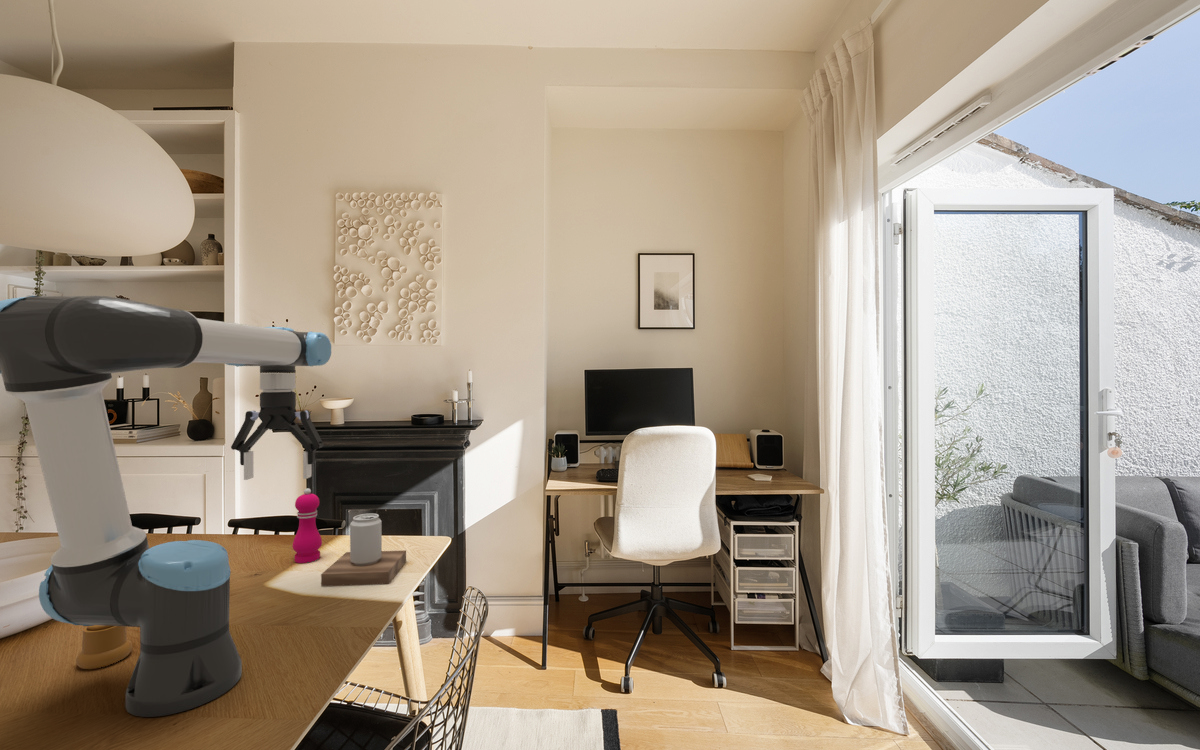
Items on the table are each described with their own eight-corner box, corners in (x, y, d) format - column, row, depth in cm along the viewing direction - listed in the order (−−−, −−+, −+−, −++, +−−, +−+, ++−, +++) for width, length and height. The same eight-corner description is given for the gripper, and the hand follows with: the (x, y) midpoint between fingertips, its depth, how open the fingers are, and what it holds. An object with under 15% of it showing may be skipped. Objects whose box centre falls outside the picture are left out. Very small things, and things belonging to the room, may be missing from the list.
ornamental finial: (142, 648, 101) (109, 670, 93) (100, 650, 100) (63, 672, 93) (142, 606, 101) (109, 625, 93) (99, 608, 100) (63, 626, 93)
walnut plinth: (388, 583, 131) (388, 571, 131) (321, 586, 130) (321, 574, 130) (406, 561, 147) (406, 550, 147) (346, 563, 146) (346, 552, 146)
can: (369, 567, 134) (369, 520, 134) (343, 565, 136) (343, 518, 136) (387, 557, 142) (387, 512, 142) (362, 555, 143) (362, 511, 143)
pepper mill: (325, 559, 149) (325, 488, 149) (297, 566, 144) (297, 492, 144) (316, 553, 154) (316, 484, 154) (288, 559, 149) (288, 488, 149)
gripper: (337, 390, 134) (337, 474, 134) (233, 390, 132) (233, 476, 132) (324, 391, 126) (325, 480, 126) (213, 391, 124) (214, 482, 124)
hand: (278, 478), depth 129 cm, fingers open, 13 cm apart
